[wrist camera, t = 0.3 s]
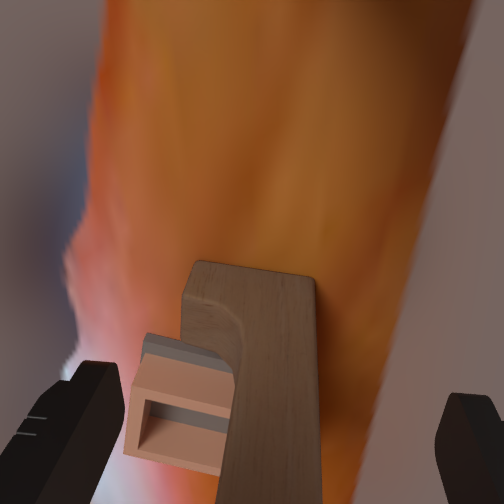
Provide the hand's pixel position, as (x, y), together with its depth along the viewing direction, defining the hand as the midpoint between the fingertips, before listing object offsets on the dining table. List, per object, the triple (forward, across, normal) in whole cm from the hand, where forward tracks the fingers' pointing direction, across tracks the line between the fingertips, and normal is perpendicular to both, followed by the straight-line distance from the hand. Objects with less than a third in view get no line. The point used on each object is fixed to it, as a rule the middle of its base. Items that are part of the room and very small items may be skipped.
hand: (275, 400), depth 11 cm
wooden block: (+20, +2, +11) cm, 23 cm away
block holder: (+21, +5, +23) cm, 32 cm away
